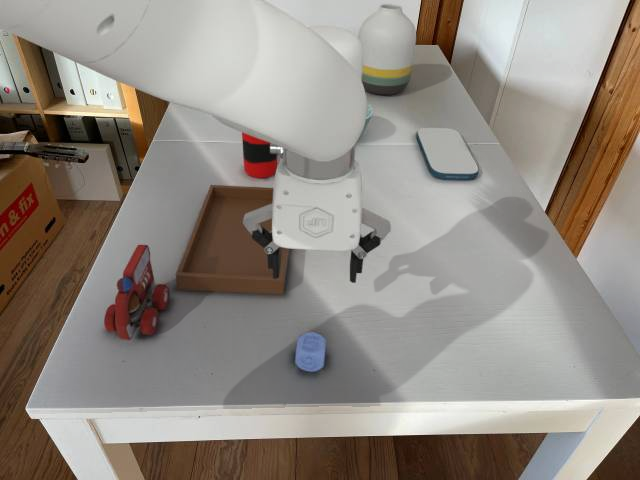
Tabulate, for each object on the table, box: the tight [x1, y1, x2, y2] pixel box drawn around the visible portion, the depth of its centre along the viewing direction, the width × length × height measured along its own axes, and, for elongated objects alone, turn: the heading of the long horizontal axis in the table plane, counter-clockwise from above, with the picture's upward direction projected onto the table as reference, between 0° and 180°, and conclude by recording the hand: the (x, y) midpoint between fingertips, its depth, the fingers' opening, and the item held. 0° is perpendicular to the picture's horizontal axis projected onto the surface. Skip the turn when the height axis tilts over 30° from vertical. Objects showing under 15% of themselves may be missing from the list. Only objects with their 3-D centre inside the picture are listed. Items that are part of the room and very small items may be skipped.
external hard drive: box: [415, 127, 480, 181], centre depth 122 cm, size 24×12×2 cm, turn 1°
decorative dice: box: [294, 331, 327, 372], centre depth 71 cm, size 4×4×4 cm
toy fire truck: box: [103, 244, 170, 341], centre depth 75 cm, size 7×12×10 cm, turn 175°
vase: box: [357, 3, 417, 96], centre depth 148 cm, size 17×17×24 cm
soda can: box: [241, 132, 278, 179], centre depth 110 cm, size 8×8×12 cm
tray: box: [175, 184, 290, 296], centre depth 93 cm, size 28×18×3 cm, turn 178°
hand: (314, 273), depth 63 cm, fingers open, 9 cm apart
